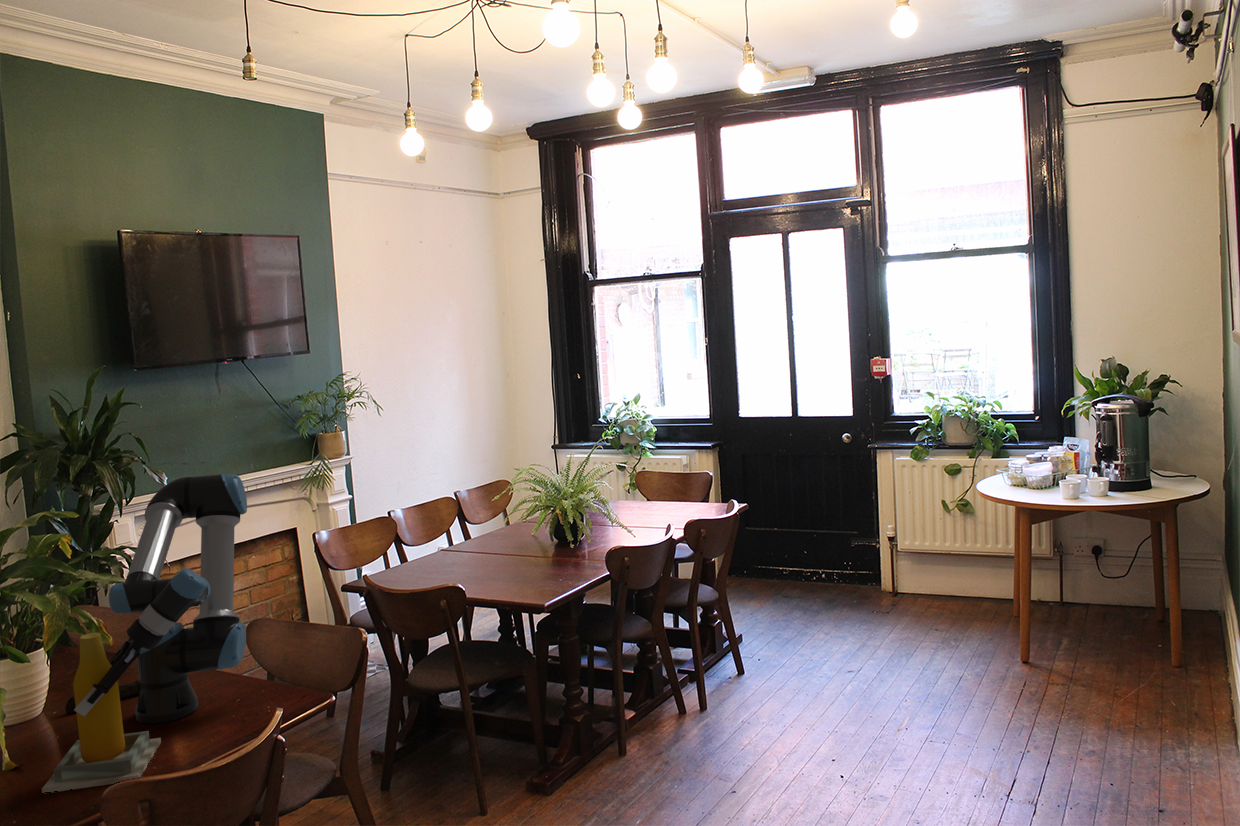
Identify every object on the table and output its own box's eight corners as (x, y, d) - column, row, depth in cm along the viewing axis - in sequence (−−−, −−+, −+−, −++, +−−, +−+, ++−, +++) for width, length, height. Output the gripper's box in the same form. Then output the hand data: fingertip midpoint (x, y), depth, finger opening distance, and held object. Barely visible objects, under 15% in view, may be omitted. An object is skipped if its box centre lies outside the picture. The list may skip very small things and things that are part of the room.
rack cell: (72, 754, 231) (71, 737, 231) (161, 742, 236) (159, 726, 235) (42, 793, 212) (40, 775, 212) (139, 779, 216) (137, 762, 216)
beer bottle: (78, 754, 224) (64, 635, 221) (121, 742, 230) (108, 626, 227) (84, 767, 217) (70, 645, 214) (129, 754, 223) (116, 635, 220)
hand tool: (139, 691, 271) (137, 676, 270) (143, 695, 268) (141, 679, 267) (64, 712, 258) (62, 696, 258) (67, 716, 255) (65, 700, 255)
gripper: (161, 650, 217) (90, 731, 212) (166, 623, 237) (101, 697, 232) (133, 631, 214) (60, 713, 210) (140, 606, 234) (74, 680, 230)
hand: (82, 705), depth 221 cm, fingers closed on beer bottle, 9 cm apart
